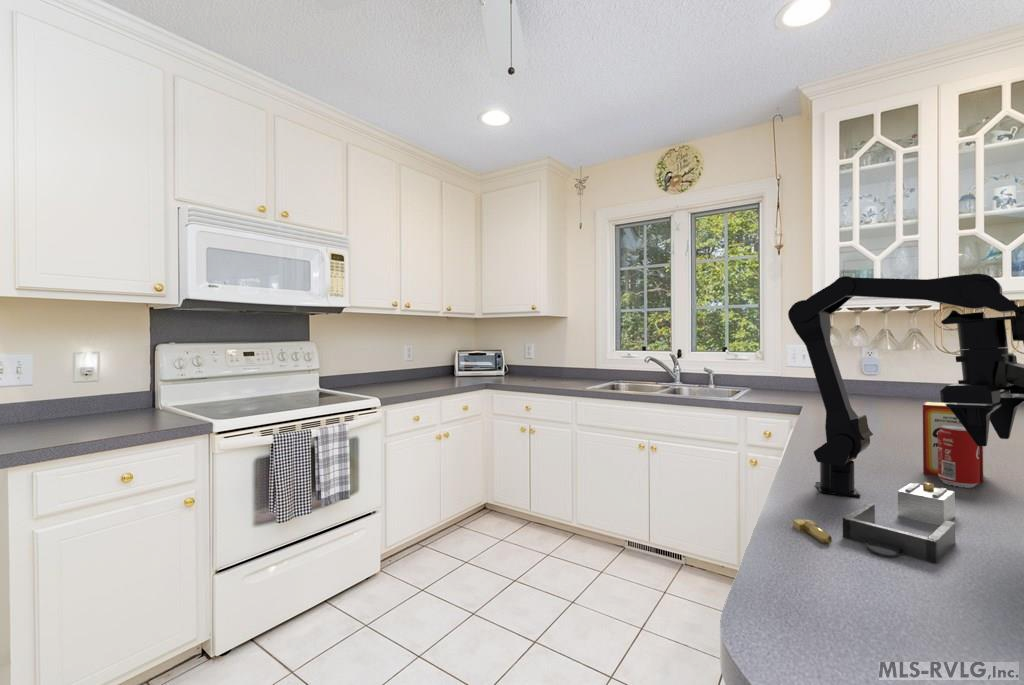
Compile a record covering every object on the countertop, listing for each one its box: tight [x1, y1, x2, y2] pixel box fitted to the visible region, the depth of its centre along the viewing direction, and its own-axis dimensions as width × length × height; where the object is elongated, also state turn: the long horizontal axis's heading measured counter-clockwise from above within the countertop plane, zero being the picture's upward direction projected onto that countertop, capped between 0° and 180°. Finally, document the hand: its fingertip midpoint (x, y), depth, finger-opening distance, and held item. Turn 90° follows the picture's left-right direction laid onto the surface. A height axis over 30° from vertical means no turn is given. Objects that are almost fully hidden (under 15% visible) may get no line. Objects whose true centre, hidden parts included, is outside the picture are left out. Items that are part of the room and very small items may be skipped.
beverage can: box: [937, 425, 981, 489], centre depth 98 cm, size 6×6×12 cm
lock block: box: [897, 482, 956, 527], centre depth 81 cm, size 7×6×6 cm
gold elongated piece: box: [792, 518, 833, 546], centre depth 74 cm, size 7×3×2 cm, turn 176°
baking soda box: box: [922, 401, 984, 483], centre depth 104 cm, size 10×6×16 cm
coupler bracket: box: [842, 502, 956, 564], centre depth 71 cm, size 14×11×3 cm
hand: (993, 442), depth 78 cm, fingers open, 9 cm apart
